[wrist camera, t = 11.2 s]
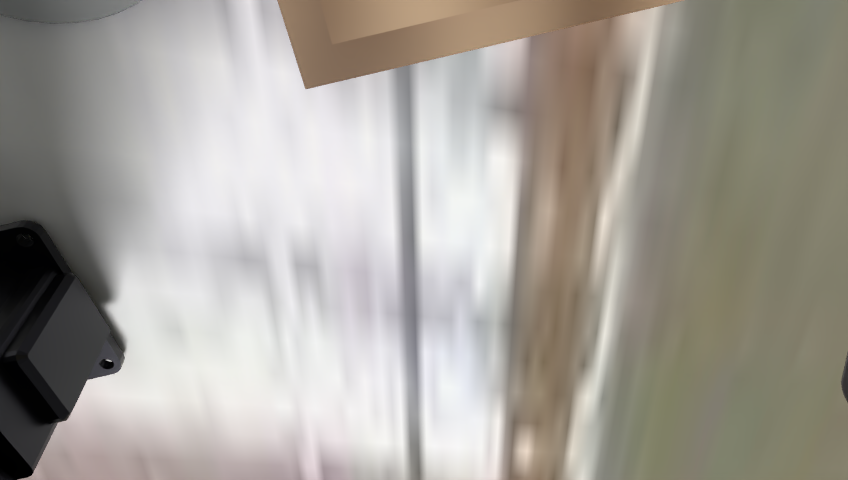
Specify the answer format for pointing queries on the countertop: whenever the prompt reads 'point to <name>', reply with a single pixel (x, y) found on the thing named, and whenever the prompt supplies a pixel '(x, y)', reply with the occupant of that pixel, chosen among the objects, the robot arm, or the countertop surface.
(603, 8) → the walnut stand
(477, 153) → the countertop surface
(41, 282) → the robot arm
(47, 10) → the grey coaster
